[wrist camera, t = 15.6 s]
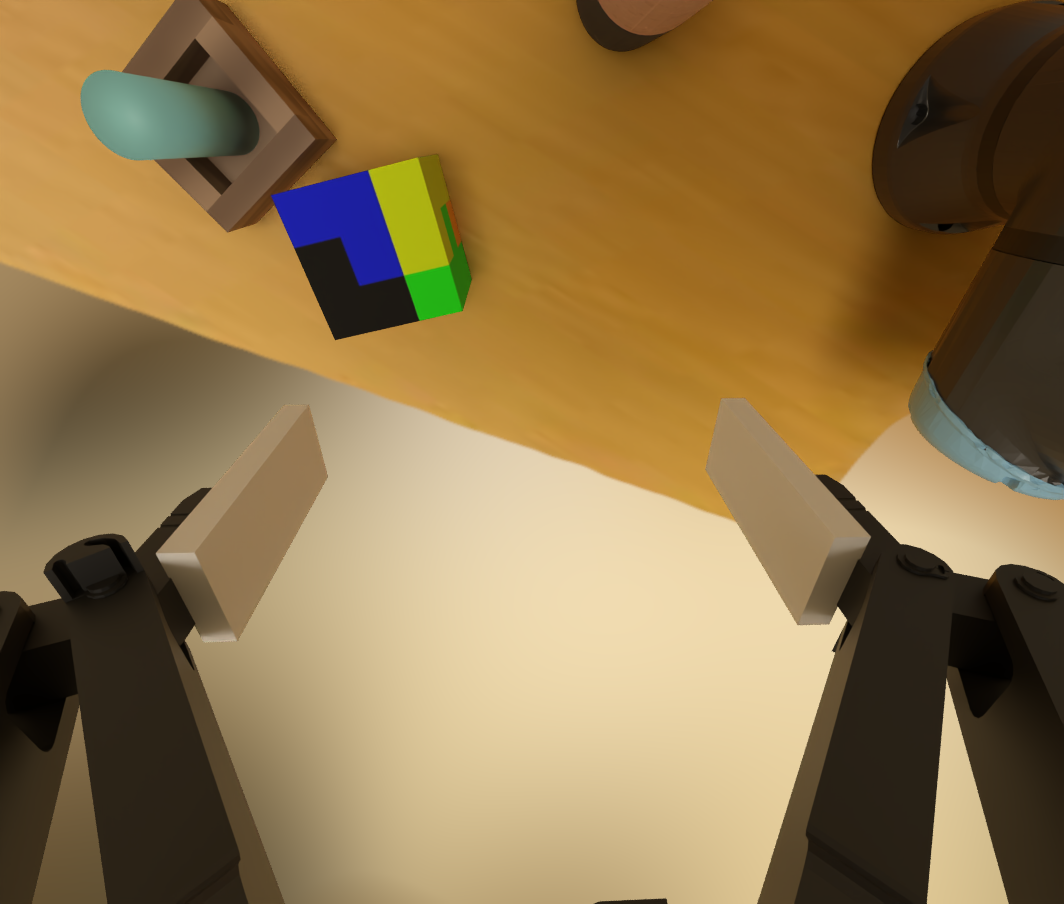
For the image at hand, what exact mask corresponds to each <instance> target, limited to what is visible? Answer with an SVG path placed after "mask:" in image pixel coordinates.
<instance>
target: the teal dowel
mask: <svg viewBox="0 0 1064 904" xmlns="http://www.w3.org/2000/svg"><path fill="white" fill-rule="evenodd" d="M81 106H82V110H83V113H84V116H85V119H86V121H87V123H88V125H89V127H90V128H91V130H92V131H93V133H94V134H95V135H96V137H97V138H98V139H99V140H100V141H101V142H102V143H103V144H104V145H105V146H106V147H107V148H109V149H110V150H111V151H113V152H114V153H116V154H118V155H120V156H122V157H124V158H127V159H131V160H156V159H176V158H197V157H217V156H237V155H246V154H248V153H250V152H251V151H253V150H254V148H255V147H256V145H257V144H258V141H259V134H260V132H259V124H258V121H257V118H256V116H255V114H254V112H253V110H252V109H251V107H250V106H249V105H248V104H247V103H246V101H245V100H243V99H242V98H241V97H239V96H238V95H236V94H234V93H232V92H229V91H224V90H219V89H213V88H207V87H202V86H196V85H190V84H185V83H179V82H174V81H168V80H162V79H157V78H151V77H146V76H140V75H134V74H129V73H123V72H118V71H112V70H101V71H97V72H94V73H92V74H91V75H90V76H88V78H87V79H86V80H85V82H84V84H83V86H82V90H81Z"/></svg>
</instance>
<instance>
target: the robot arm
mask: <svg viewBox="0 0 1064 904" xmlns="http://www.w3.org/2000/svg"><path fill="white" fill-rule="evenodd" d="M873 179H874V185H875V189H876V193H877V195H878V198H879V200H880V202H881V204H882V206H883V207H884V209H885V210H886V211H887V213H888V214H889V215H890V216H891V217H892V218H893V219H895V220H896V221H897V222H899V223H901V224H902V225H904V226H907V227H909V228H913V229H916V230H921V231H926V232H931V233H937V234H957V233H964V232H969V231H974V230H979V229H984V228H988V227H993V226H998V225H1002V224H1005V226H1004V228H1003V230H1002V232H1001V234H1000V235H999V237H998V239H997V241H996V242H995V244H994V246H993V247H992V248H991V250H990V252H989V254H988V255H987V257H986V259H985V261H984V262H983V264H982V266H981V268H980V269H979V271H978V273H977V275H976V276H975V278H974V280H973V282H972V283H971V285H970V287H969V289H968V290H967V292H966V294H965V296H964V297H963V299H962V301H961V303H960V304H959V306H958V308H957V310H956V311H955V313H954V315H953V317H952V318H951V320H950V322H949V324H948V325H947V327H946V329H945V331H944V332H943V334H942V336H941V338H940V339H939V341H938V343H937V345H936V346H935V348H934V350H933V351H931V352H929V354H928V355H927V357H926V358H925V361H924V364H923V371H922V373H921V375H920V377H919V379H918V381H917V383H916V385H915V387H914V389H913V391H912V393H911V395H910V399H909V404H908V407H909V410H910V414H911V419H912V422H913V424H914V425H915V427H916V428H917V430H918V431H919V432H920V434H921V435H922V436H923V437H924V438H925V439H926V440H927V441H928V442H929V443H930V444H931V445H932V446H933V447H935V448H936V449H937V450H939V451H940V452H941V453H943V454H944V455H945V456H946V457H948V458H949V459H951V460H952V461H954V462H955V463H957V464H959V465H960V466H962V467H963V468H965V469H967V470H969V471H970V472H972V473H974V474H976V475H978V476H980V477H982V478H984V479H986V480H988V481H991V482H994V483H997V482H1002V483H1003V484H1005V485H1006V486H1008V487H1009V488H1010V489H1012V490H1013V491H1016V492H1019V493H1022V494H1025V495H1029V496H1033V497H1038V498H1043V499H1051V500H1060V499H1064V2H1061V1H1057V0H1030V1H1024V2H1019V3H1015V4H1012V5H1008V6H1004V7H1000V8H997V9H993V10H990V11H987V12H984V13H982V14H979V15H977V16H975V17H973V18H971V19H969V20H967V21H965V22H964V23H962V24H960V25H959V26H957V27H956V28H954V29H953V30H951V31H950V32H949V33H947V34H946V35H945V36H943V37H942V38H941V39H940V40H939V41H937V42H936V43H935V44H934V45H933V46H932V47H931V48H930V49H929V50H928V51H927V52H926V53H925V54H924V55H923V56H922V57H921V58H920V59H919V60H918V62H917V63H916V64H915V65H914V66H913V67H912V69H911V70H910V71H909V73H908V74H907V75H906V77H905V78H904V80H903V81H902V83H901V84H900V86H899V87H898V89H897V91H896V92H895V94H894V96H893V98H892V99H891V101H890V103H889V105H888V107H887V109H886V112H885V114H884V117H883V119H882V122H881V125H880V128H879V131H878V134H877V138H876V142H875V148H874V155H873ZM705 470H706V471H707V473H708V475H709V476H710V478H711V480H712V481H713V483H714V485H715V486H716V488H717V490H718V491H719V493H720V495H721V497H722V498H723V500H724V502H725V503H726V505H727V507H728V508H729V510H730V512H731V513H732V515H733V517H734V519H735V520H736V522H737V524H738V525H739V527H740V528H741V530H742V532H743V534H744V535H745V537H746V539H747V540H748V542H749V544H750V546H751V547H752V549H753V551H754V552H755V554H756V556H757V557H758V559H759V561H760V562H761V564H762V566H763V567H764V569H765V571H766V572H767V574H768V576H769V578H770V579H771V581H772V583H773V584H774V586H775V588H776V590H777V591H778V593H779V594H780V596H781V598H782V600H783V601H784V603H785V605H786V606H787V608H788V610H789V611H790V613H791V615H792V617H793V618H794V620H795V621H796V623H797V625H821V624H830V621H831V619H832V617H833V615H834V613H835V611H836V609H837V607H839V609H840V610H841V612H842V613H843V614H844V616H845V617H846V619H847V622H846V624H845V626H844V628H843V630H842V632H841V634H840V636H839V638H838V640H837V642H836V644H835V646H834V648H833V650H832V651H833V652H835V655H834V659H833V662H832V665H831V668H830V672H829V675H828V678H827V681H826V685H825V688H824V691H823V694H822V698H821V701H820V704H819V707H818V710H817V714H816V717H815V720H814V723H813V726H812V730H811V733H810V736H809V739H808V742H807V746H806V749H805V752H804V755H803V759H802V762H801V765H800V768H799V772H798V775H797V778H796V781H795V784H794V788H793V792H792V794H791V798H790V800H789V804H788V807H787V810H786V813H785V817H784V820H783V823H782V826H781V829H780V833H779V836H778V839H777V842H776V846H775V849H774V852H773V855H772V858H771V862H770V865H769V868H768V871H767V875H766V878H765V881H764V884H763V888H762V891H761V894H760V897H759V900H758V903H757V904H927V893H928V882H929V870H930V859H931V848H932V836H933V824H934V813H935V802H936V790H937V779H938V768H939V756H940V746H941V735H942V723H943V711H944V701H945V689H946V678H947V681H948V685H949V688H950V691H951V695H952V699H953V703H954V706H955V710H956V714H957V717H958V721H959V724H960V728H961V732H962V735H963V739H964V743H965V746H966V750H967V753H968V757H969V761H970V764H971V768H972V772H973V775H974V779H975V782H976V786H977V790H978V793H979V797H980V801H981V804H982V808H983V811H984V815H985V819H986V822H987V826H988V830H989V833H990V837H991V840H992V844H993V848H994V851H995V855H996V859H997V862H998V866H999V870H1000V873H1001V876H1002V881H1003V883H1004V888H1005V891H1006V895H1007V899H1008V902H1009V904H1064V584H1063V583H1062V582H1060V581H1059V580H1057V579H1056V578H1054V577H1052V576H1051V575H1047V574H1046V573H1044V572H1042V571H1040V570H1035V569H1033V568H1029V567H1026V566H1021V565H1014V564H1008V565H1001V566H1000V567H999V568H997V569H996V570H995V572H994V573H993V575H992V576H991V578H990V579H989V580H988V579H983V578H978V577H973V576H967V575H962V574H957V573H953V571H952V570H951V568H950V567H949V566H948V565H947V564H946V563H945V562H944V561H943V560H941V559H940V558H938V557H937V556H935V555H934V554H932V553H929V552H927V551H925V550H923V549H921V548H917V547H913V546H909V545H904V544H899V542H898V541H897V540H896V539H895V538H894V537H893V536H892V535H891V534H890V533H889V532H888V531H887V530H886V529H885V528H884V527H883V526H882V525H881V524H880V523H879V522H878V521H877V520H876V519H875V518H874V517H873V516H872V515H871V513H870V512H869V511H866V510H865V507H864V506H863V505H862V504H861V503H860V502H859V501H856V499H855V497H854V496H853V495H852V494H851V493H850V492H849V491H848V490H847V489H846V488H845V487H844V485H842V484H840V483H839V482H837V481H835V480H834V479H832V478H830V477H829V476H827V475H814V474H813V473H812V471H811V470H810V469H809V468H808V467H807V466H806V465H805V464H804V463H803V462H802V460H801V459H800V458H799V457H798V456H797V455H796V454H795V453H794V452H793V451H792V449H791V448H790V447H789V446H788V445H787V444H786V443H785V442H784V441H783V440H782V438H781V437H780V436H779V435H778V434H777V433H776V432H775V431H774V430H773V429H772V427H771V426H770V425H769V424H768V423H767V422H766V421H765V420H764V419H763V418H762V416H761V415H760V414H759V413H758V412H757V411H756V410H755V409H754V408H753V407H752V405H751V404H750V403H749V402H748V401H747V400H746V399H745V398H721V402H720V407H719V411H718V416H717V420H716V425H715V429H714V433H713V438H712V442H711V447H710V451H709V456H708V460H707V465H706V469H705ZM327 477H328V475H327V471H326V468H325V464H324V460H323V457H322V452H321V449H320V445H319V442H318V437H317V433H316V430H315V427H314V422H313V418H312V415H311V411H310V407H309V405H284V406H283V407H282V408H281V409H280V410H279V412H278V413H277V414H276V415H275V416H274V417H273V418H272V420H271V421H270V422H269V423H268V424H267V425H266V427H265V428H264V429H263V430H262V431H261V432H260V433H259V435H258V436H257V437H256V438H255V439H254V440H253V442H252V443H251V444H250V445H249V446H248V447H247V448H246V450H245V451H244V452H243V453H242V454H241V455H240V457H239V458H238V459H237V460H236V461H235V462H234V463H233V465H232V466H231V467H230V468H229V469H228V470H227V472H226V473H225V474H224V475H223V476H222V477H221V478H220V480H219V481H218V482H217V483H216V484H215V486H214V487H213V488H201V489H200V490H198V491H197V492H195V493H194V494H192V495H190V496H189V497H187V498H186V499H184V500H183V501H182V502H181V503H180V504H179V505H178V506H177V508H176V509H175V510H174V511H173V512H172V513H171V516H168V517H167V518H166V519H165V521H164V522H163V523H162V524H161V527H160V528H157V529H156V530H155V531H154V533H153V534H152V535H151V536H150V537H149V538H148V539H147V540H146V541H145V542H144V544H142V546H141V547H140V548H139V549H138V550H137V551H136V552H134V551H133V549H132V547H131V545H130V544H129V542H128V541H127V539H126V538H125V537H124V536H122V535H117V534H103V535H97V536H93V537H90V538H86V539H83V540H81V541H79V542H76V543H74V544H72V545H70V546H68V547H66V548H65V549H63V550H62V551H60V552H59V553H57V554H56V555H54V556H53V558H52V559H51V560H50V561H49V562H48V563H47V564H46V566H45V569H44V574H45V576H46V577H47V578H48V580H49V581H50V583H51V584H52V585H53V586H54V588H55V589H56V591H57V592H58V593H59V595H60V596H61V599H57V600H53V601H48V602H44V603H40V604H36V605H32V606H28V605H27V604H26V603H25V602H24V600H23V599H22V598H21V597H20V596H19V595H18V594H16V593H15V592H7V591H1V592H0V904H32V900H33V896H34V892H35V888H36V883H37V879H38V875H39V871H40V867H41V863H42V859H43V854H44V850H45V846H46V842H47V838H48V834H49V829H50V825H51V821H52V817H53V813H54V809H55V804H56V800H57V796H58V792H59V788H60V783H61V779H62V775H63V771H64V766H65V762H66V758H67V754H68V750H69V745H70V742H71V737H72V733H73V729H74V725H75V720H76V716H77V712H78V708H79V704H80V711H81V719H82V725H83V732H84V740H85V746H86V753H87V760H88V768H89V775H90V782H91V789H92V797H93V804H94V811H95V817H96V824H97V832H98V838H99V846H100V853H101V861H102V867H103V875H104V882H105V889H106V896H107V903H108V904H285V903H284V900H283V897H282V895H281V892H280V889H279V887H278V884H277V881H276V879H275V876H274V873H273V871H272V868H271V865H270V863H269V860H268V857H267V855H266V852H265V849H264V847H263V844H262V841H261V838H260V836H259V833H258V830H257V828H256V825H255V823H254V820H253V817H252V814H251V812H250V809H249V807H248V804H247V801H246V799H245V796H244V793H243V790H242V788H241V785H240V782H239V780H238V777H237V774H236V772H235V769H234V766H233V763H232V761H231V758H230V755H229V753H228V750H227V747H226V745H225V742H224V740H223V737H222V734H221V731H220V729H219V726H218V724H217V721H216V718H215V716H214V713H213V710H212V707H211V705H210V702H209V699H208V697H207V694H206V691H205V689H204V686H203V683H202V680H201V678H200V675H199V673H198V670H197V667H196V665H195V662H194V659H193V656H192V654H191V651H190V649H189V647H188V645H187V643H186V642H185V639H186V637H187V636H188V634H189V633H190V631H191V630H192V628H193V627H194V625H195V627H196V629H197V631H198V633H199V634H200V636H201V638H202V640H203V642H224V641H225V642H227V641H238V639H239V638H240V636H241V634H242V632H243V630H244V628H245V627H246V625H247V623H248V621H249V619H250V618H251V616H252V614H253V612H254V610H255V608H256V607H257V605H258V603H259V601H260V599H261V597H262V596H263V594H264V592H265V590H266V588H267V587H268V585H269V583H270V581H271V579H272V578H273V576H274V574H275V572H276V570H277V568H278V566H279V565H280V563H281V561H282V559H283V557H284V556H285V554H286V552H287V550H288V548H289V547H290V545H291V543H292V541H293V539H294V537H295V536H296V534H297V532H298V530H299V528H300V526H301V524H302V523H303V521H304V519H305V517H306V516H307V514H308V512H309V510H310V508H311V507H312V505H313V503H314V501H315V499H316V497H317V496H318V494H319V492H320V490H321V488H322V486H323V485H324V483H325V481H326V479H327ZM595 904H667V899H645V900H622V901H602V902H597V903H595Z"/></svg>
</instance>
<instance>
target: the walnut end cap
mask: <svg viewBox="0 0 1064 904" xmlns="http://www.w3.org/2000/svg"><path fill="white" fill-rule="evenodd" d="M122 72H123V73H129V74H134V75H140V76H146V77H151V78H157V79H162V80H168V81H174V82H179V83H185V84H190V85H196V86H202V87H207V88H213V89H219V90H224V91H229V92H232V93H234V94H236V95H238V96H239V97H241V98H242V99H243V100H245V101H246V103H247V104H248V105H249V106H250V107H251V109H252V110H253V112H254V114H255V116H256V118H257V121H258V124H259V132H260V134H259V141H258V144H257V145H256V147H255V148H254V150H253V151H251V152H250V153H248V154H246V155H237V156H217V157H197V158H176V159H156V160H155V161H156V162H157V163H158V164H159V165H160V166H161V167H162V168H163V169H164V170H165V171H166V172H167V173H168V174H169V175H170V176H171V177H172V178H173V179H174V180H175V181H176V182H177V183H178V184H179V185H180V186H181V187H182V188H183V189H184V190H185V191H186V192H187V193H188V194H189V195H190V196H191V197H192V198H193V199H194V200H195V201H196V202H197V203H198V204H199V205H200V206H201V207H202V208H203V209H204V210H205V211H206V212H207V213H208V214H209V215H210V216H211V217H212V218H213V219H214V220H215V221H216V222H217V223H218V224H220V225H221V226H222V227H223V228H224V229H225V230H226V231H227V232H231V231H234V230H237V229H240V228H243V227H246V226H249V225H253V224H256V223H257V222H258V221H259V220H260V219H261V218H262V217H263V216H264V215H265V214H266V213H267V212H268V211H269V209H270V208H271V207H272V206H273V205H274V201H273V199H272V197H271V195H274V194H277V193H281V192H285V191H288V190H289V189H290V188H291V187H292V186H293V184H294V183H295V182H296V181H297V180H298V179H299V178H300V177H301V176H302V175H303V174H304V173H305V172H306V171H307V170H308V169H309V168H310V167H311V166H312V165H313V164H314V163H315V162H316V161H317V159H318V158H319V157H320V156H321V155H322V154H323V153H324V152H325V151H326V150H327V149H328V148H329V147H330V146H331V145H332V144H333V143H334V142H335V141H336V140H337V139H336V138H335V137H334V136H333V134H332V133H331V132H330V131H329V129H328V128H327V127H326V126H325V125H324V123H323V122H322V121H321V120H320V118H319V117H318V116H317V115H316V114H315V112H314V111H313V110H312V109H311V108H310V106H309V105H308V104H307V103H306V101H305V100H304V99H303V98H302V97H301V95H300V94H299V93H298V92H297V90H296V89H295V88H294V87H293V86H292V84H291V83H290V82H289V81H288V79H287V78H286V77H285V76H284V75H283V73H282V72H281V71H280V70H279V69H278V67H277V66H276V65H275V64H274V62H273V61H272V60H271V59H270V58H269V56H268V55H267V54H266V53H265V51H264V50H263V49H262V48H261V47H260V45H259V44H258V43H257V42H256V40H255V39H254V38H253V37H252V36H251V34H250V33H249V32H248V31H247V29H246V28H245V27H244V26H243V25H242V23H241V22H240V21H239V20H238V19H237V17H236V16H235V15H234V14H233V12H232V11H231V10H230V9H229V8H228V6H227V5H226V4H224V3H222V2H220V1H218V0H175V1H174V2H173V4H172V5H171V6H170V8H169V9H168V11H167V12H166V13H165V15H164V16H163V17H162V19H161V20H160V21H159V23H158V24H157V25H156V27H155V28H154V29H153V31H152V32H151V34H150V35H149V36H148V38H147V39H146V40H145V42H144V43H143V44H142V46H141V47H140V48H139V50H138V51H137V52H136V54H135V55H134V57H133V58H132V59H131V61H130V62H129V63H128V65H127V66H126V67H125V69H124V70H123V71H122Z"/></svg>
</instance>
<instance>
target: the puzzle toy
mask: <svg viewBox="0 0 1064 904" xmlns="http://www.w3.org/2000/svg"><path fill="white" fill-rule="evenodd" d="M271 197H272V199H273V201H274V204H275V206H276V208H277V210H278V213H279V215H280V217H281V219H282V222H283V224H284V226H285V228H286V231H287V233H288V235H289V237H290V240H291V242H292V244H293V246H294V249H295V251H296V253H297V256H298V258H299V260H300V262H301V265H302V267H303V269H304V271H305V274H306V276H307V278H308V280H309V283H310V285H311V287H312V289H313V292H314V294H315V296H316V298H317V301H318V303H319V305H320V307H321V310H322V312H323V314H324V316H325V319H326V321H327V323H328V325H329V328H330V330H331V332H332V334H333V337H334V339H335V340H338V339H342V338H346V337H351V336H355V335H360V334H364V333H368V332H373V331H377V330H381V329H386V328H390V327H395V326H399V325H403V324H408V323H412V322H417V321H421V320H425V319H430V318H434V317H439V316H443V315H447V314H452V313H456V312H460V311H463V308H464V304H465V301H466V298H467V294H468V291H469V287H470V284H471V280H472V278H471V275H470V271H469V267H468V264H467V260H466V256H465V253H464V249H463V245H462V242H461V238H460V234H459V231H458V227H457V223H456V220H455V216H454V212H453V208H452V205H451V201H450V197H449V194H448V190H447V186H446V183H445V179H444V175H443V172H442V168H441V164H440V161H439V157H438V154H435V155H429V156H424V157H418V158H414V159H410V160H406V161H402V162H398V163H394V164H390V165H387V166H383V167H379V168H375V169H371V170H367V171H363V172H359V173H355V174H352V175H348V176H344V177H340V178H336V179H332V180H328V181H324V182H320V183H316V184H313V185H309V186H305V187H301V188H297V189H293V190H289V191H285V192H281V193H277V194H274V195H271Z"/></svg>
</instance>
